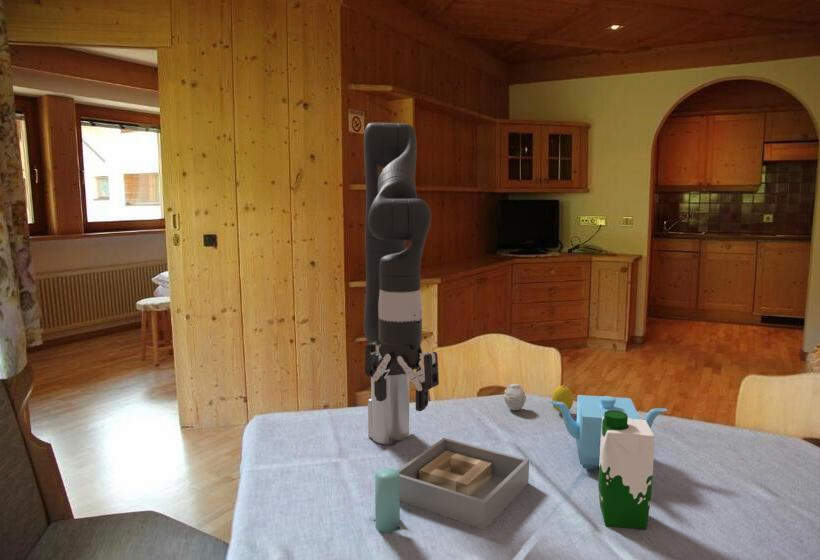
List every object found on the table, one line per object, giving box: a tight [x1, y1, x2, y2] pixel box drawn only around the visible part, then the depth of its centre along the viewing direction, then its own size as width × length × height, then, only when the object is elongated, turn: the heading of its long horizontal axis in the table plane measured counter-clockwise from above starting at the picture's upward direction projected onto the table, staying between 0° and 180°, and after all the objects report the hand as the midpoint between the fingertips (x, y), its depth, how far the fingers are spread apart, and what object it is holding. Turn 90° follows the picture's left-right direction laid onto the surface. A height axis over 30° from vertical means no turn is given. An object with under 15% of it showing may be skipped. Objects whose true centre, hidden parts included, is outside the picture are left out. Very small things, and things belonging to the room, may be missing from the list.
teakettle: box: [549, 394, 669, 470], centre depth 132 cm, size 19×19×15 cm
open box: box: [396, 437, 530, 531], centre depth 119 cm, size 20×20×6 cm
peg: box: [374, 468, 401, 534], centre depth 108 cm, size 4×4×10 cm
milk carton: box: [597, 410, 655, 530], centre depth 109 cm, size 9×9×20 cm
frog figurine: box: [503, 383, 527, 411], centre depth 164 cm, size 6×7×7 cm
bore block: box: [419, 451, 492, 496], centre depth 123 cm, size 11×11×3 cm
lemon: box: [551, 384, 574, 415], centre depth 161 cm, size 6×6×8 cm
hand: (400, 404), depth 106 cm, fingers open, 8 cm apart
